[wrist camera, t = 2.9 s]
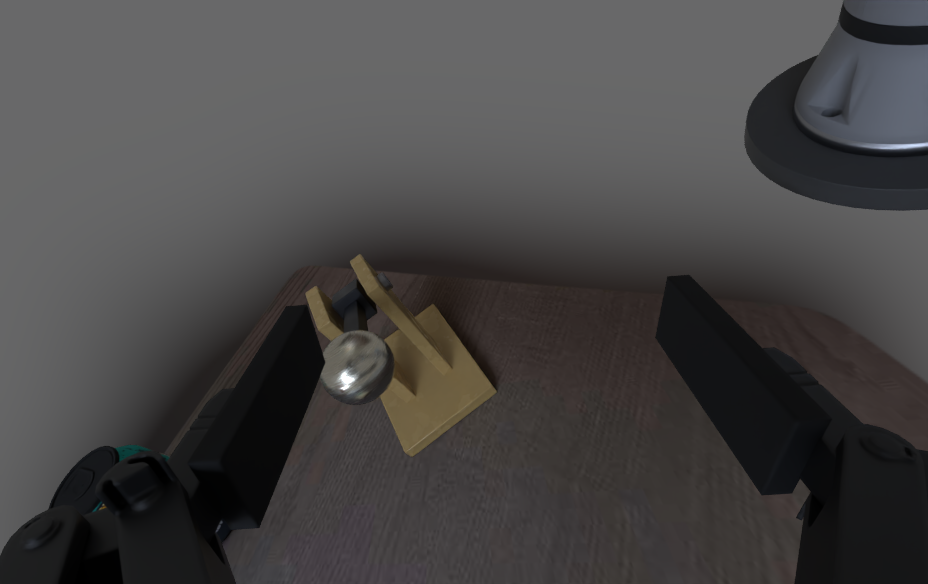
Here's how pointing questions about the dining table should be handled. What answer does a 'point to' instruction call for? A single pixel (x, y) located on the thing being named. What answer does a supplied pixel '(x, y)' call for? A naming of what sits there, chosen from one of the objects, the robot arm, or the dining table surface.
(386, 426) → the dining table surface
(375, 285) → the switch bracket
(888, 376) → the dining table surface
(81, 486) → the beverage can
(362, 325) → the switch lever
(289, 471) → the dining table surface
